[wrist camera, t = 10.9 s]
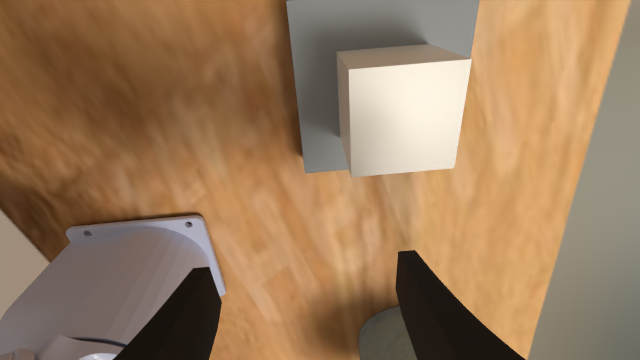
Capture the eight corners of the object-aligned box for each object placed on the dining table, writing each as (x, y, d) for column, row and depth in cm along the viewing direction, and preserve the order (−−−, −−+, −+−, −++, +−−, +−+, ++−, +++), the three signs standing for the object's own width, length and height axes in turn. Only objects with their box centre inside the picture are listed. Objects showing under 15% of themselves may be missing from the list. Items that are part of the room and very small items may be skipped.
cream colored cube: (340, 138, 18) (351, 177, 14) (336, 51, 16) (348, 69, 12) (420, 131, 18) (454, 168, 14) (428, 43, 16) (471, 58, 12)
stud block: (304, 158, 21) (305, 191, 17) (287, 0, 16) (284, 1, 13) (441, 146, 21) (469, 176, 17) (462, -14, 16) (506, -18, 13)
